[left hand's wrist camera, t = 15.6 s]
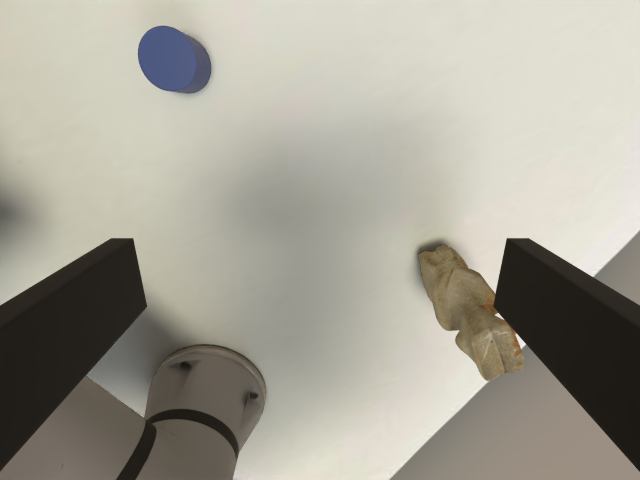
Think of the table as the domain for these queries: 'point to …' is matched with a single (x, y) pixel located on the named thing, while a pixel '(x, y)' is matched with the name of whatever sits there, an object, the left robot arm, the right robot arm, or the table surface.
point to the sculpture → (470, 312)
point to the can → (173, 60)
